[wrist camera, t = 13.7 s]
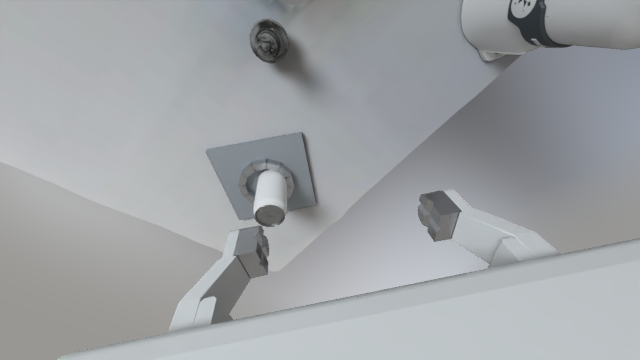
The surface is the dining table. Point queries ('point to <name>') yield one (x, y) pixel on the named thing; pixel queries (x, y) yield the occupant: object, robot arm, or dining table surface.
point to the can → (270, 199)
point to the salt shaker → (269, 41)
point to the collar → (262, 165)
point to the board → (277, 148)
